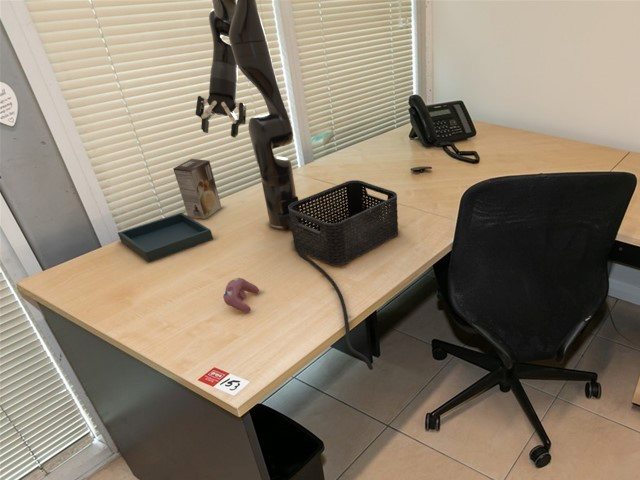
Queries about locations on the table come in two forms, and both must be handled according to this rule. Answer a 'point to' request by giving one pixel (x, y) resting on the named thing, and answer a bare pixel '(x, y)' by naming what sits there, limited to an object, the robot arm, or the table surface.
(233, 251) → the table surface
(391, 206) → the storage bin
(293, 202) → the robot arm
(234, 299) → the video game controller
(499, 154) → the table surface
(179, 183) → the coffee box
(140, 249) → the tray
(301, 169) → the table surface
